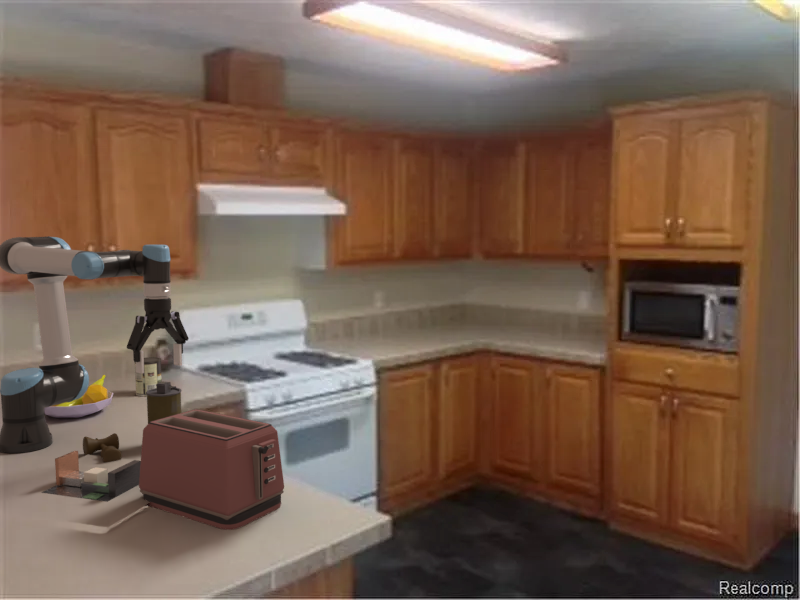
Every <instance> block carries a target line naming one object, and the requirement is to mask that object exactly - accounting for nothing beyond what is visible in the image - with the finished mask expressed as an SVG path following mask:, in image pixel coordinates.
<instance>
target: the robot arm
mask: <svg viewBox="0 0 800 600" xmlns="http://www.w3.org/2000/svg"><path fill="white" fill-rule="evenodd" d="M170 252H171V251H170V247H169V245H167V244H144V245H143V246H142V249H141V250H130V249H120V250H119V249H118V250H113V251H112V250H111V251H91V250H90V251H89V250H80V249H79V250H78V249H72V248H71V246H70V245H69V243H68V242H66V241H65V240H64V239H62V238H61V237H56V236H25V237H23V236H18V237H11V238H8V239H6V240H4V241H3V242H2V243H1V244H0V268H1V269H2V270H3V271H5V272H7V273H8V274H9V273H10V274H13V275H26V276H27V277H26V278H27V281H28V282H29V283H31V284H32V285H33V289H34V290H33V291H34V297H35V304H36V305H35V306H36V311H37V319H38V320H37V321H38V326H39V327H38V328H39V336H40V343H41V350H42V351H41V352H42V358H43V359H42V360H41V361H40V362H39V364H38V367H27V368H19V369H16V370H13V371H10V372H8V373H6V374H4V375H3V376H2V378H1V379H0V399H1V400H0V402H1V418H2V425H1V429H0V452H2V453H6V454H8V453H9V454H18V453H19V454H21V453H28V452H29V453H30V452H34V451H38V450H41V449H44V448H47V447H49V446H51V445H53V442H54V441H53V434H52V432H50V428H49V426H48V422H47V420H46V414H45V408H46V407H50V406H54V405H57V404H61V403H65V402H71V401H73V400H76V399H79V398H81V397H82V396H83V395H84V394H85V392H86V391H87V389H88V386H90V385H89V384H90V375H89V373H88V370H86V367H85V366H84V365H83V364H80V362H79V358H77V357H76V356H74V354H73V348H72V341H71V333H70V325H69V318H68V310H67V303H66V302H67V301H66V295H65V287H64V282H65V280H66V279H67V278H68V276H73V277H77V279H79V280H95V279H104V278H105V279H107V278H120V277H121V278H122V277H142V278H143V283H142V284H143V296H144V297H145V298H144V299H143V306H144V308H143V309H144V311H145V315H136V316H135V323H134V326H133V328H132V331H131V334H130V335H129V336H130V337H129V339H128V341H127V344H126V349H127V350H131V351H132V352H133V354H132V356H133V361H134V363H135V362H136V372H137V373H144V358H145V357H144V353H145V351H144V350H142V348H143V347H144V345H145V344H146V343H147V341H148V339H149V337H150V336H151V334H152V333H153V332H154V331H155V330H160V329H162V330H163V329H164V330H165V331H166V332H167V333H168V335H170V337H171V339H173V341H174V343H172V344H173V346H172V347H173V366H182V365H183V359H182V356H183V353H184V345H185V344H186V341H189V339H190V338H189V336H188V334H187V332H186V329H185V327H184V324H183V322H182V321H181V318H180V317H181V316H180V312H179V311H175V310H174V311H171V310H172V298H171V296H172V287H171V286H172V285H171V260H172V259H171V253H170ZM170 320H171V321H172V322H171V321H170Z"/></svg>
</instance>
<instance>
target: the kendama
mask: <svg viewBox="0 0 800 600" xmlns="http://www.w3.org/2000/svg"><path fill="white" fill-rule="evenodd" d="M82 439H83V440H82V451H83V455H84V456H89V455H90V456H91V455H93V454H94V453H96V452H99V451H100V458H101V459H102V462H103V463H111V462H115V461H116V462H118V461H121V460H122V457H123V455H122V451H120V450H121V449H119V448H120V439H119V436H118V433H112V434H110V435H108V436H107V437H105V438H104V437H103V438H98V437H97V438H96V437H95V438H92V437H88V436H84V437H83V438H82Z"/></svg>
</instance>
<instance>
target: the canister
mask: <svg viewBox="0 0 800 600" xmlns="http://www.w3.org/2000/svg"><path fill="white" fill-rule="evenodd" d="M156 386H157V388H155V389H151V390H148V391H147V392H146V394H147V396H146V403H147V404H146V408H147V409H146V410H147V425H148V424H149V422H151V421H155V420H158V419H162V418H166V417H169V416H173V415H176V414H180V413H182V391H183V390H182V388H179V387H177V386H176V385H175V386H174V385H172V382H171V381H161V382H159V383H158V384H156Z"/></svg>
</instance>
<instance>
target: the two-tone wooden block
mask: <svg viewBox="0 0 800 600" xmlns="http://www.w3.org/2000/svg"><path fill="white" fill-rule="evenodd" d="M79 462H80V461H79V450H73V451H70V452H68V453H66V454H63V455H61V456H59V457H56V458H54V464H55V465H54V466H55V482H56V483H55V484H56V485H59V486H60V485H62V484H63V485H70V486H78V487H81V483H83V482H84V472H85V471H80V465H79V464H80V463H79ZM56 485H55V486H56Z"/></svg>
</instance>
